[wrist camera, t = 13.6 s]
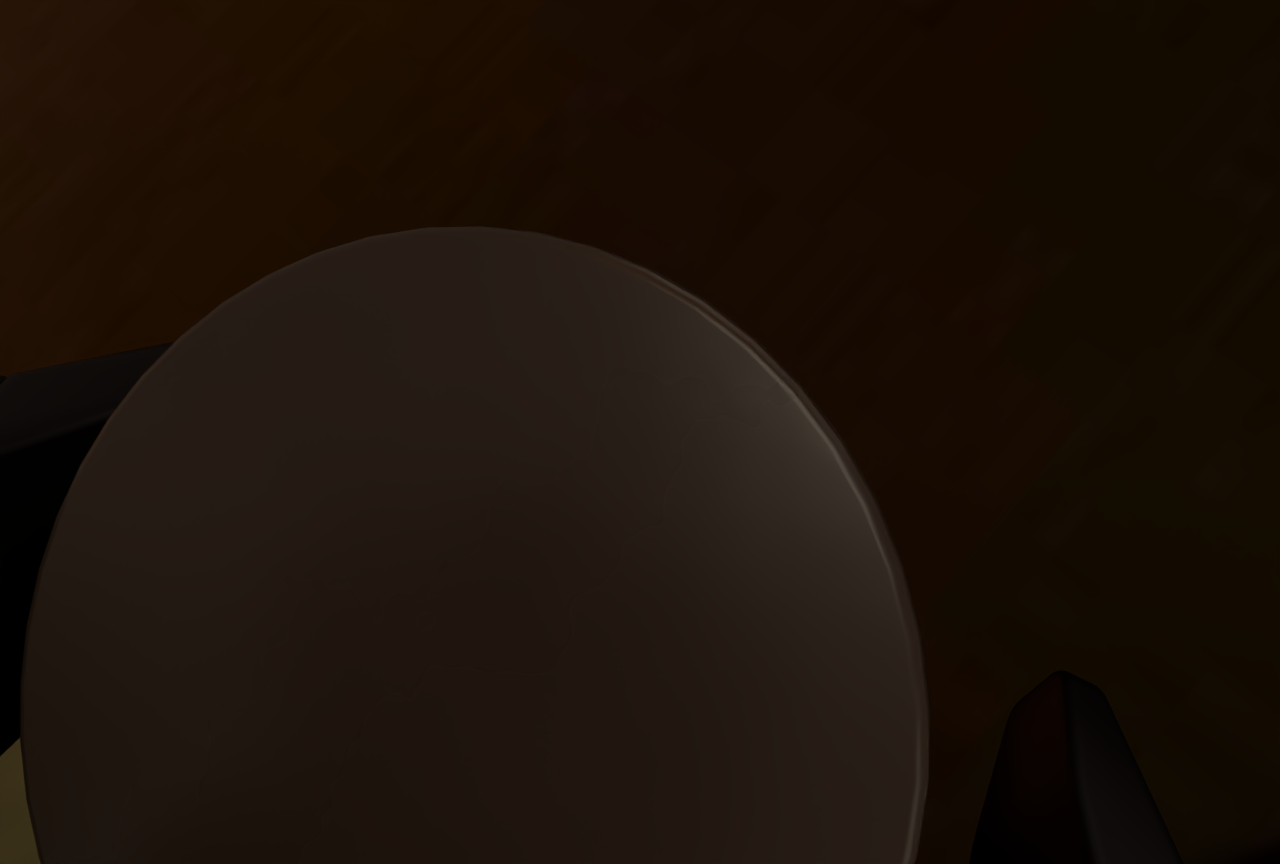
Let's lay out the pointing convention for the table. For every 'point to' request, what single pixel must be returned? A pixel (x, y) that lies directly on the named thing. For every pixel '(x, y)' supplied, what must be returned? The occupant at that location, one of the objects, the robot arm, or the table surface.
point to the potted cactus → (15, 812)
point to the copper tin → (472, 585)
